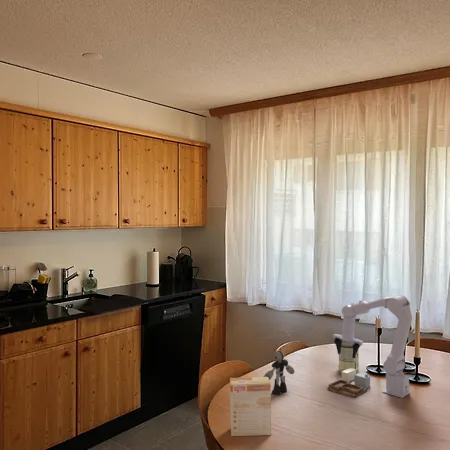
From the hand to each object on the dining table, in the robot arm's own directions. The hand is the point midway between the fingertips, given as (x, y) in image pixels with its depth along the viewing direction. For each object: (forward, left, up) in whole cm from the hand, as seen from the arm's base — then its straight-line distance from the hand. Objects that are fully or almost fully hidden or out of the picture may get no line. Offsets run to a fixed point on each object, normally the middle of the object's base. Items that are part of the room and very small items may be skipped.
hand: (346, 355), depth 222 cm
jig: (-8, +13, -12) cm, 19 cm away
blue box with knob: (-10, +3, -12) cm, 16 cm away
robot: (+12, +37, -12) cm, 41 cm away
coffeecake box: (-5, +74, -12) cm, 75 cm away
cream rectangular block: (-1, 0, -12) cm, 12 cm away
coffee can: (+6, -12, -12) cm, 18 cm away
